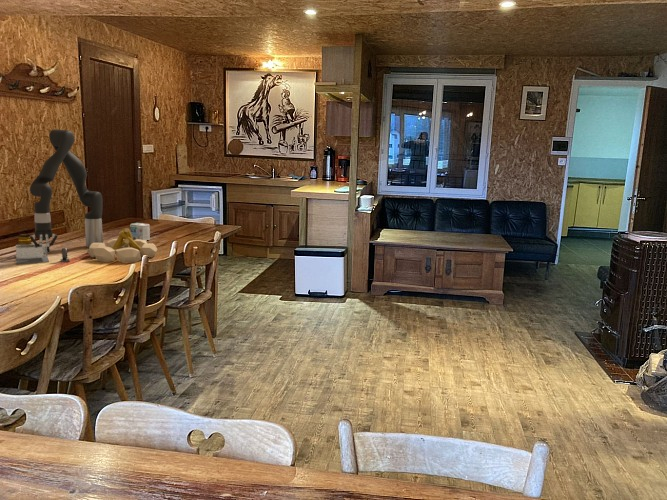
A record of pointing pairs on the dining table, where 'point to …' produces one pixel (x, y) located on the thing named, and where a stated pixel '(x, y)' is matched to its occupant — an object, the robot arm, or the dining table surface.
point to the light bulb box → (140, 231)
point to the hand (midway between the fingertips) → (44, 253)
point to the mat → (32, 260)
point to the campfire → (122, 249)
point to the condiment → (24, 239)
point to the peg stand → (64, 255)
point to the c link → (31, 251)
